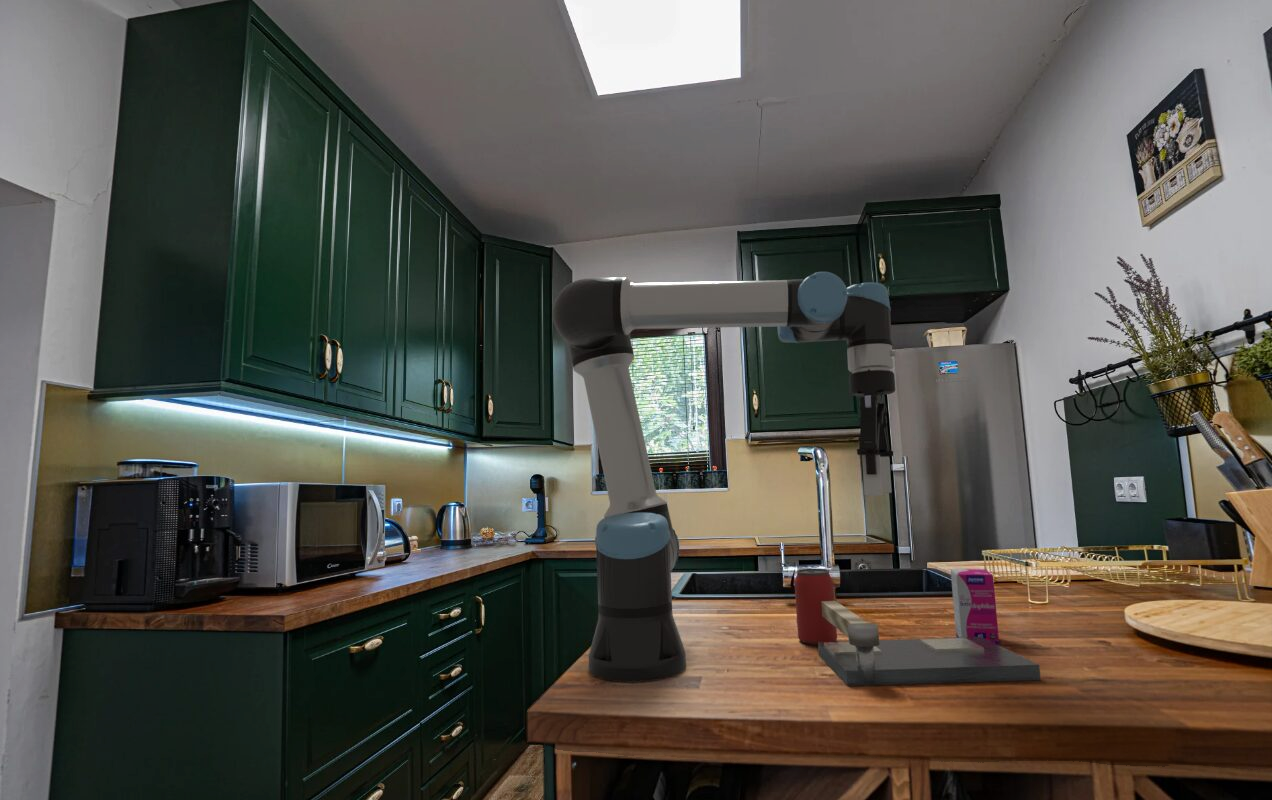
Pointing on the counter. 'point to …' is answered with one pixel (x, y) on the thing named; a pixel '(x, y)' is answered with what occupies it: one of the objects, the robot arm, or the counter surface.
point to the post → (866, 663)
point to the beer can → (813, 606)
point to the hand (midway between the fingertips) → (878, 494)
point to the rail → (850, 624)
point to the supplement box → (974, 604)
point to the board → (930, 662)
